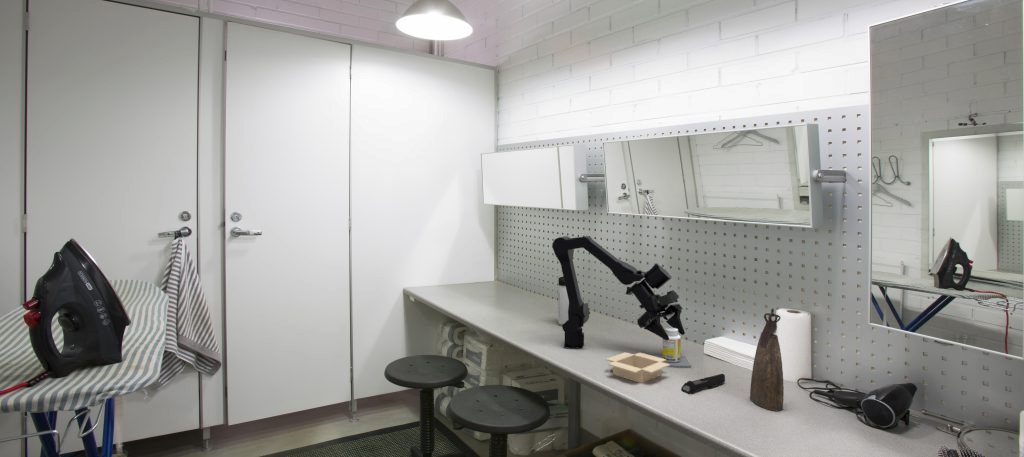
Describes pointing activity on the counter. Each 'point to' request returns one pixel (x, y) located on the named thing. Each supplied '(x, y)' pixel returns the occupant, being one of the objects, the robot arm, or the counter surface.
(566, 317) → the travel mug
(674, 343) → the supplement bottle
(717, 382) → the electric trimmer
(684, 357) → the rubber mat
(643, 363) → the carton
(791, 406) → the counter surface
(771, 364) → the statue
